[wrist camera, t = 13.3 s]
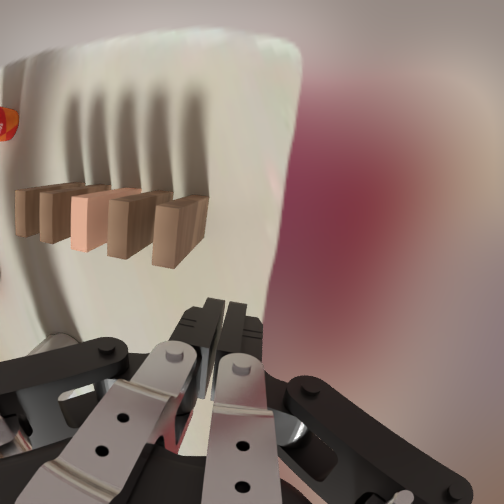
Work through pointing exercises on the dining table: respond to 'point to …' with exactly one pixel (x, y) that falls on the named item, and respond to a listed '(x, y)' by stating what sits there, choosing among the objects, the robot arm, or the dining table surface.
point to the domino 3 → (93, 217)
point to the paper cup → (8, 123)
